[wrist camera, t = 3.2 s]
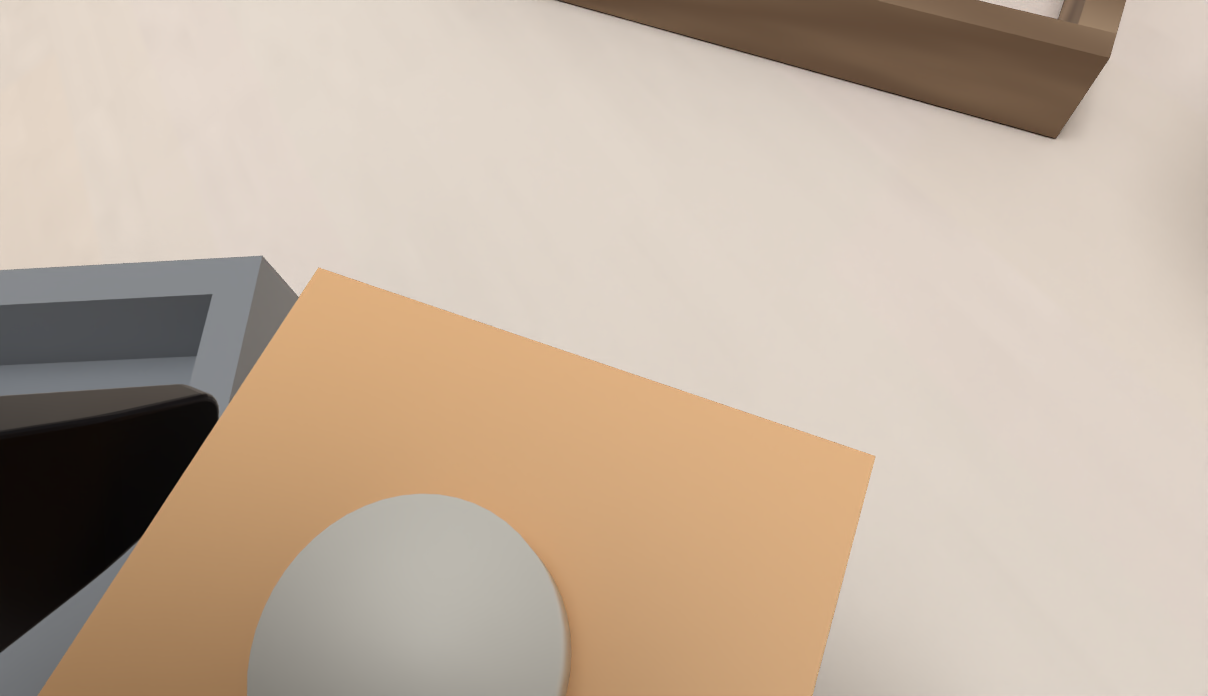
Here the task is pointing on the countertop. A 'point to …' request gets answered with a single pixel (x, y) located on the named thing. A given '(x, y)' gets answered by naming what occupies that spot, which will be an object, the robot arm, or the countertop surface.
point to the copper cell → (474, 528)
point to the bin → (127, 368)
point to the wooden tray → (915, 47)
